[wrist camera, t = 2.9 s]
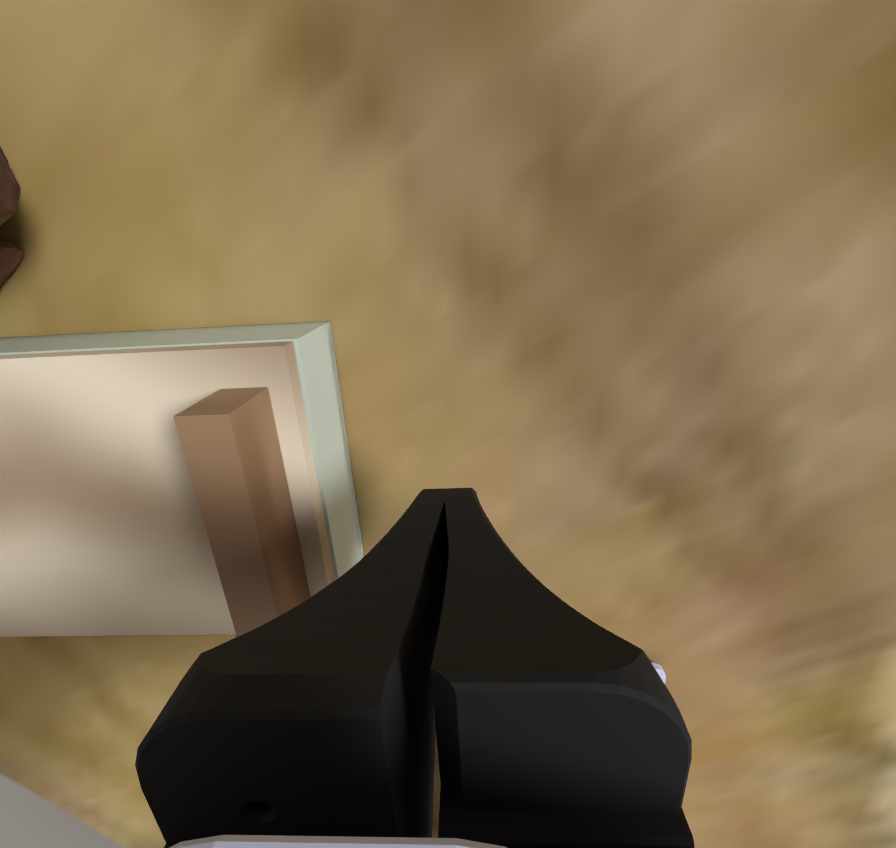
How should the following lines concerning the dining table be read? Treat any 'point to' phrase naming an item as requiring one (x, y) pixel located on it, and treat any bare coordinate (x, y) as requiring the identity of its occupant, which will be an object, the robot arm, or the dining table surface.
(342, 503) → the box
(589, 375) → the dining table surface
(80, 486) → the lid
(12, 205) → the brown figurine
